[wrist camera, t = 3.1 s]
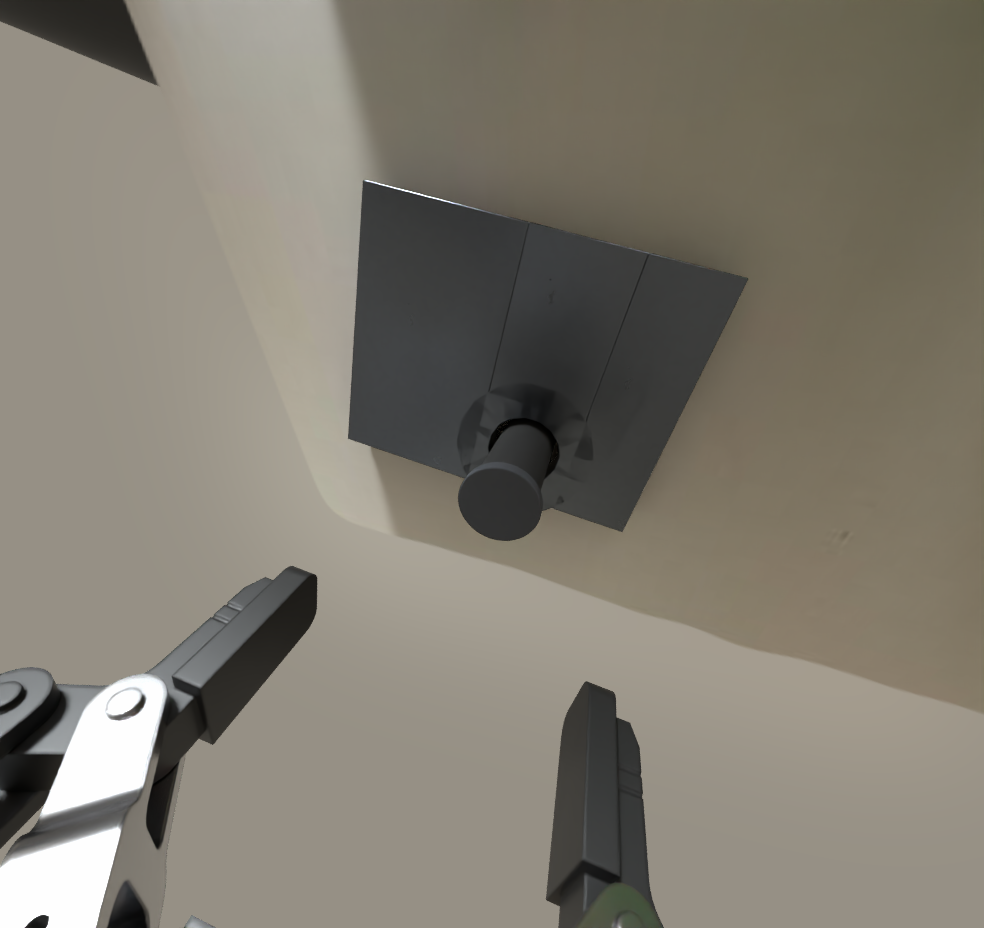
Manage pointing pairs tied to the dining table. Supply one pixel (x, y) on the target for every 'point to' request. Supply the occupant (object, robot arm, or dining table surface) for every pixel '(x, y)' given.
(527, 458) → the plug
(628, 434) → the plate
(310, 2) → the dining table surface
